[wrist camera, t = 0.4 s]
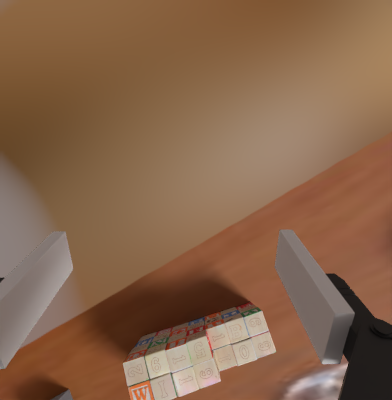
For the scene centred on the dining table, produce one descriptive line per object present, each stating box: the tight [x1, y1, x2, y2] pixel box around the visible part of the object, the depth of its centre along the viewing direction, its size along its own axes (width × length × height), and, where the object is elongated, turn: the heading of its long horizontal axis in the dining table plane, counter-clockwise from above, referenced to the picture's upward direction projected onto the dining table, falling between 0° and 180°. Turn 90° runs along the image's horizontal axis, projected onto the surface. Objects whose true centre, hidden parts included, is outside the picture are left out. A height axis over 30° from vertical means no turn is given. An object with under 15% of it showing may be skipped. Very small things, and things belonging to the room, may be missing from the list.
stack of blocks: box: [123, 302, 276, 400], centre depth 41 cm, size 21×6×12 cm, turn 107°
